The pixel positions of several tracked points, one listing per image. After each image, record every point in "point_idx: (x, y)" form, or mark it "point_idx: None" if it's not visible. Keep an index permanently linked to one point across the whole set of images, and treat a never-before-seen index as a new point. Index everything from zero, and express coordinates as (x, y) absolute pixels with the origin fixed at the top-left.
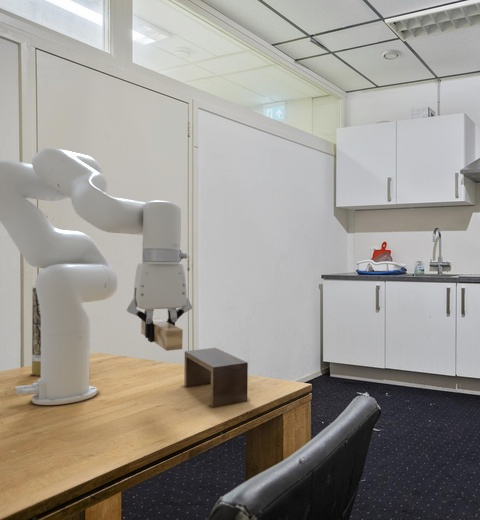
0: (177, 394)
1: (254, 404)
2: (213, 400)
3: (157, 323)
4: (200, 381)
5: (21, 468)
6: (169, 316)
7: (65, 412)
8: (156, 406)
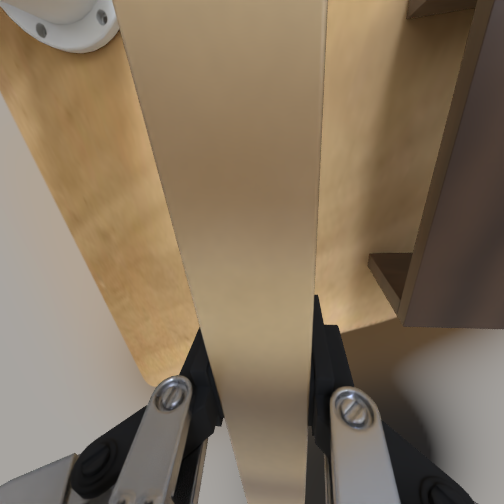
0: (347, 112)
1: None
2: (372, 273)
3: (242, 418)
4: (472, 4)
5: (130, 331)
6: (336, 439)
7: (107, 133)
8: None
